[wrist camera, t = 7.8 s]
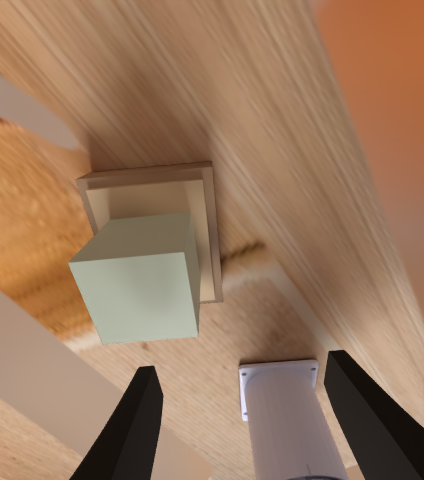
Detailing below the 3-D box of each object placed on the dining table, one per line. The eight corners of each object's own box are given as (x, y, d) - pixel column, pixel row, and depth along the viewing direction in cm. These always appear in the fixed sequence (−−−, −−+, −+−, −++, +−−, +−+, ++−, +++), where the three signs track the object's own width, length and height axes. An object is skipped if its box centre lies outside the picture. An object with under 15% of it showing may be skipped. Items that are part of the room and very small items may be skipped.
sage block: (200, 279, 17) (198, 336, 12) (130, 285, 17) (102, 344, 13) (191, 211, 15) (184, 251, 10) (109, 219, 15) (67, 262, 10)
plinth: (221, 284, 20) (223, 305, 18) (127, 292, 21) (117, 314, 18) (211, 161, 16) (212, 168, 14) (91, 172, 16) (72, 181, 14)
